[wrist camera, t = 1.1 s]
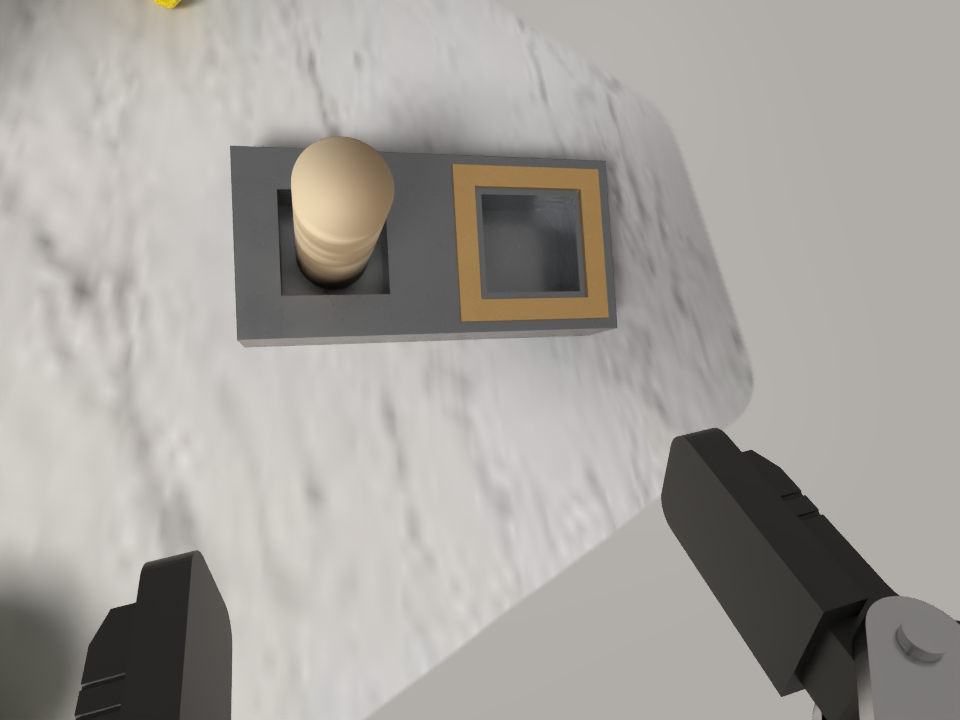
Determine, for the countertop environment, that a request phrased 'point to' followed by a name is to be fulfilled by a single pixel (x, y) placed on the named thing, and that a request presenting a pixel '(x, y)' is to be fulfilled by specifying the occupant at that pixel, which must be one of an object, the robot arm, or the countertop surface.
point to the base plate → (433, 253)
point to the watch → (167, 3)
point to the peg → (338, 209)
